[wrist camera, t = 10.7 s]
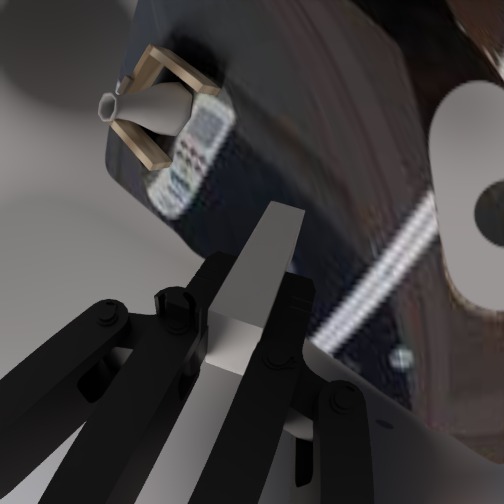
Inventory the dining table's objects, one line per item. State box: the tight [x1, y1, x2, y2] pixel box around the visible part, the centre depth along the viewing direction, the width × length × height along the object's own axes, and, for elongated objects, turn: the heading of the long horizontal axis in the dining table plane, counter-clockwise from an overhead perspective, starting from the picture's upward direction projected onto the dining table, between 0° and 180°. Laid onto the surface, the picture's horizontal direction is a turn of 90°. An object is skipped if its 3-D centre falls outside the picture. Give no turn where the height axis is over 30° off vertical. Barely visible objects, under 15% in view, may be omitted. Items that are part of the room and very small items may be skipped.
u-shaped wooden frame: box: [108, 44, 221, 171], centre depth 31 cm, size 11×12×4 cm
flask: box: [98, 82, 192, 136], centre depth 29 cm, size 7×7×10 cm
